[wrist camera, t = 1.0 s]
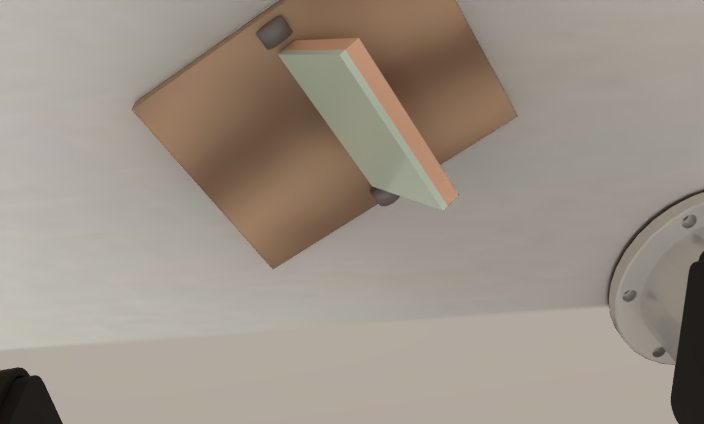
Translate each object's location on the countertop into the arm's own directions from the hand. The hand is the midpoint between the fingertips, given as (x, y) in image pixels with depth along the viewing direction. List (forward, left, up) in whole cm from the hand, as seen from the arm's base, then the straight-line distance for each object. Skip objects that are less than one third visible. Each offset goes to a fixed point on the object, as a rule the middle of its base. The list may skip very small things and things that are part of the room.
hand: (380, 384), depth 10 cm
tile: (-4, -1, -20) cm, 20 cm away
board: (-4, +1, -24) cm, 24 cm away
